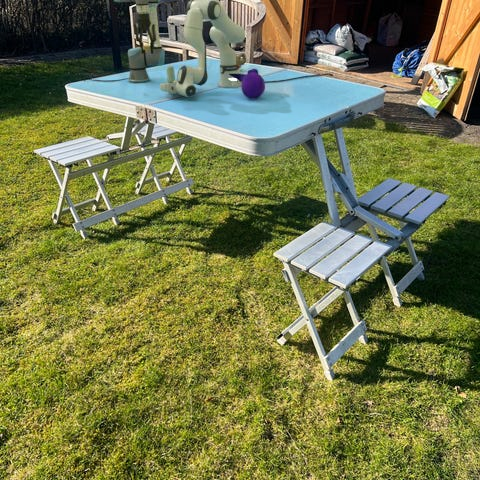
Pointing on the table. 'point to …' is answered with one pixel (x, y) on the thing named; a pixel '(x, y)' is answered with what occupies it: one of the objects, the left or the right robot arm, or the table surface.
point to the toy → (251, 83)
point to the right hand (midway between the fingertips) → (171, 83)
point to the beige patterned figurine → (239, 59)
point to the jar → (170, 74)
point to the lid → (146, 47)
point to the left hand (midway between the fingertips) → (147, 53)
